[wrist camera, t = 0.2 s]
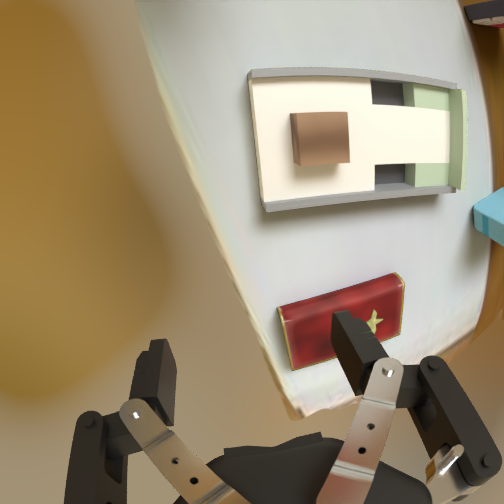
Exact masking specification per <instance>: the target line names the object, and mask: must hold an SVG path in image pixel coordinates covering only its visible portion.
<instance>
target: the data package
mask: <svg viewBox="0 0 504 504" xmlns="http://www.w3.org/2000/svg"><path fill="white" fill-rule="evenodd" d="M473 210H474V224H475V229H476V230H478V231H479V232H481V233H483V234H484V235H486V236H488V237H489V238H491V239H492V240H494V241H496V242H497V243H499V244H500V245H502V246H503V247H504V187H502V188H500V189H499V190H497V191H496V192H494V193H492V194H491V195H489V196H488V197H486V198H484V199H483V200H481V201H480V202H478V203H476V204H475V205H474V207H473Z"/></svg>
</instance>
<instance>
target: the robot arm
mask: <svg viewBox="0 0 504 504" xmlns="http://www.w3.org/2000/svg"><path fill="white" fill-rule="evenodd" d="M331 344H332V347H333V350H334V352H335V354H336V356H337V358H338V360H339V362H340V364H341V366H342V368H343V371H344V373H345V375H346V377H347V379H348V381H349V383H350V385H351V388H352V390H353V392H354V394H355V396H358V395H362V394H363V398H362V400H361V402H360V405H359V407H358V410H357V413H356V415H355V418H354V420H353V423H352V425H351V428H350V430H349V433H348V435H347V437H346V439H345V441H342V440H339V439H335V438H322V435H321V432H317V433H313V434H309V435H305V436H300V437H296V438H294V439H292V440H289V441H287V442H285V443H282V444H280V445H278V446H275V447H260V446H242V447H234V448H224V455H222V456H219V457H217V458H215V459H213V460H212V461H210V462H209V463H207V464H206V465H205V464H204V463H203V462H202V461H201V460H200V459H199V458H198V457H197V456H196V455H195V454H194V453H193V452H192V451H191V450H190V449H189V448H188V447H187V446H186V445H185V444H184V443H183V442H182V440H181V439H180V438H179V437H178V436H177V435H176V434H175V433H174V432H173V431H172V430H171V431H170V430H169V429H168V428H167V426H174V407H175V406H174V405H175V390H176V374H177V369H176V363H175V359H174V357H173V354H172V351H171V349H170V346H169V343H168V341H167V339H156V340H151V342H150V347H149V351H142V353H141V354H140V356H139V357H138V358H137V361H136V366H135V371H134V376H133V380H132V386H131V391H130V397H129V400H128V401H126V402H125V403H124V404H123V405H122V406H121V408H120V410H119V411H118V412H116V413H112V414H109V415H105V416H101V415H100V413H98V412H96V411H87V412H85V413H83V414H82V415H80V416H79V418H78V420H77V422H76V427H75V432H74V437H73V442H72V448H71V454H70V460H69V467H68V473H67V480H66V489H65V498H64V504H127V466H128V455H129V454H133V453H136V452H140V451H144V452H145V453H146V455H147V456H148V457H149V459H150V460H151V461H152V462H153V464H154V465H155V466H156V467H157V469H158V470H159V471H160V472H161V473H162V475H163V476H164V477H165V478H166V479H167V480H168V481H169V483H170V484H171V485H172V486H173V487H174V488H175V489H176V491H177V492H178V493H179V494H180V496H179V497H178V499H177V500H176V501H175V502H174V503H173V504H445V503H447V502H449V501H460V500H462V499H464V498H466V497H467V496H468V495H470V494H471V493H472V492H474V491H475V490H476V489H478V488H479V487H480V486H482V485H483V484H484V483H485V482H487V481H488V480H489V479H490V478H492V477H493V476H494V475H495V474H496V473H498V471H499V470H500V468H501V464H502V457H501V454H500V452H499V450H498V448H497V447H496V445H495V443H494V441H493V439H492V437H491V436H490V434H489V432H488V430H487V428H486V427H485V425H484V423H483V421H482V420H481V418H480V416H479V415H478V413H477V411H476V410H475V408H474V406H473V405H472V403H471V401H470V400H469V398H468V396H467V395H466V393H465V392H464V390H463V388H462V387H461V386H460V384H459V382H458V381H457V379H456V377H455V376H454V374H453V373H452V371H451V370H450V369H449V367H448V365H447V364H446V362H445V361H444V360H443V359H442V358H440V357H437V356H427V357H425V358H423V359H422V360H421V362H420V365H402V364H401V363H400V362H399V361H398V360H396V359H394V358H390V357H389V356H388V355H387V353H386V351H385V350H384V348H383V347H382V345H381V344H380V342H379V341H378V339H377V338H376V337H375V334H374V333H373V332H372V330H371V328H370V327H369V325H368V324H367V323H366V322H365V321H363V320H362V319H360V318H356V319H354V318H353V317H352V315H351V314H350V312H349V311H348V310H345V311H340V312H335V313H333V314H332V323H331ZM396 408H407V409H408V411H409V413H410V415H411V417H412V420H413V422H414V424H415V426H416V428H417V430H418V432H419V434H420V437H421V439H422V441H423V443H424V446H425V448H426V450H427V452H428V455H429V457H430V459H431V460H430V461H429V462H428V464H427V466H426V469H425V473H426V478H427V479H426V484H424V483H422V482H421V481H419V480H418V479H415V478H413V477H411V476H409V475H407V474H405V473H403V472H401V471H399V470H397V469H395V468H393V467H391V466H389V465H387V464H385V463H384V462H382V461H380V457H381V455H382V451H383V449H384V446H385V442H386V439H387V436H388V433H389V430H390V426H391V423H392V419H393V416H394V412H395V409H396Z"/></svg>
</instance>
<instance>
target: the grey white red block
mask: <svg viewBox="0 0 504 504" xmlns="http://www.w3.org/2000/svg"><path fill="white" fill-rule="evenodd" d="M464 8H465V10H466V13H467V16H468V19H469V21H473V23H474V24H481V25H489V26H493V27H498V28H504V0H493V1H487V2H482V3H477V4H472V5H468V6H464Z"/></svg>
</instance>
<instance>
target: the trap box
mask: <svg viewBox="0 0 504 504" xmlns="http://www.w3.org/2000/svg"><path fill="white" fill-rule="evenodd" d="M247 75H248V84H249V93H250V102H251V111H252V120H253V129H254V138H255V148H256V157H257V167H258V176H259V186H260V196H261V204H262V206H263V207H264V209H265V211H266V213H267V212H274V211H282V210H290V209H298V208H306V207H314V206H322V205H331V204H339V203H348V202H358V201H367V200H377V199H387V198H397V197H408V196H420V195H432V194H444V193H456V188H457V189H459V190H465V181H466V166H467V98H466V90H463V89H457V83H452V82H447V81H443V80H438V79H432V78H427V77H421V76H415V75H408V74H401V73H394V72H385V71H376V70H364V69H350V68H326V67H290V68H266V69H251V71H250V72H249V73H248V74H247ZM305 112H348V128H349V148H350V163H339V164H325V165H313V166H302V167H300V166H299V165H297V164H295V163H294V159H293V146H292V134H291V123H290V113H305Z"/></svg>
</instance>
